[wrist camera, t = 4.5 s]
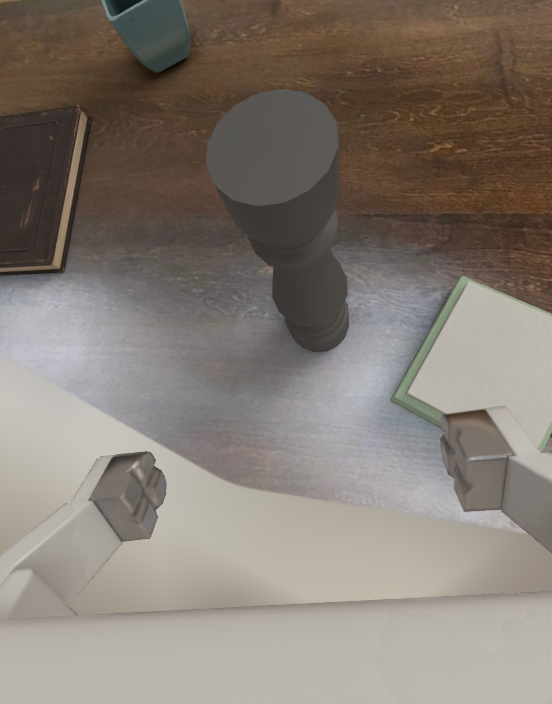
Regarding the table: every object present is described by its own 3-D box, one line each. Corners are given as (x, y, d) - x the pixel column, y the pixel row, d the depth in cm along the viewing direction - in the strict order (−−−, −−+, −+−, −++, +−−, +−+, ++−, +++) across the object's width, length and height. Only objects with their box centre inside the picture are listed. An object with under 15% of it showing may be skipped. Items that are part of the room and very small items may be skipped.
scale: (522, 472, 33) (544, 476, 29) (390, 400, 37) (395, 395, 33) (586, 346, 34) (615, 334, 31) (453, 287, 38) (464, 270, 34)
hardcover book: (91, 118, 53) (80, 104, 50) (64, 272, 47) (50, 264, 45) (-5, 131, 56) (-20, 119, 53) (-41, 277, 51) (-58, 269, 48)
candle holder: (361, 328, 39) (377, 147, 15) (311, 363, 39) (249, 240, 15) (325, 284, 41) (289, 59, 17) (278, 318, 41) (175, 143, 17)
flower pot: (131, 48, 54) (90, -26, 46) (186, 18, 54) (154, -62, 45) (148, 90, 52) (108, 21, 43) (206, 60, 51) (177, -18, 42)
